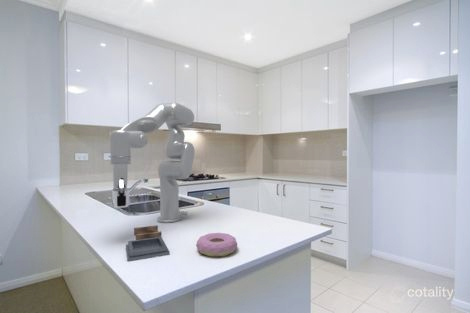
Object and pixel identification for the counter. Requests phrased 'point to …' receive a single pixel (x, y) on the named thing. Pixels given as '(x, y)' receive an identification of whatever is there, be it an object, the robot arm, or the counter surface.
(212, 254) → the donut
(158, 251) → the cradle
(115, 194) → the white cup
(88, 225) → the counter surface
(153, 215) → the counter surface
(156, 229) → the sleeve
